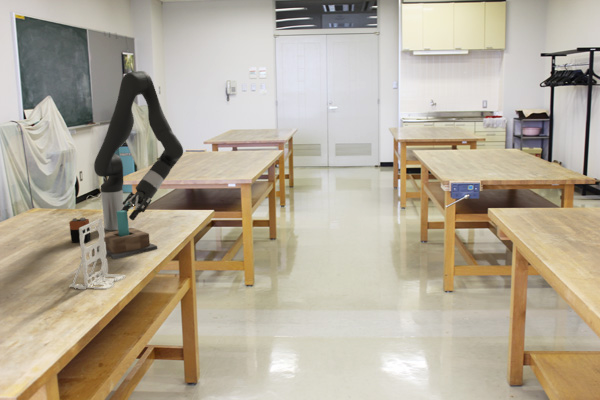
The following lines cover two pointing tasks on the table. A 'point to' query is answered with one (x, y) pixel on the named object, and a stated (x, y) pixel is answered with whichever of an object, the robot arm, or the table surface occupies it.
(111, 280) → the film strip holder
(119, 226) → the peg
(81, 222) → the battery
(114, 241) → the socket block
